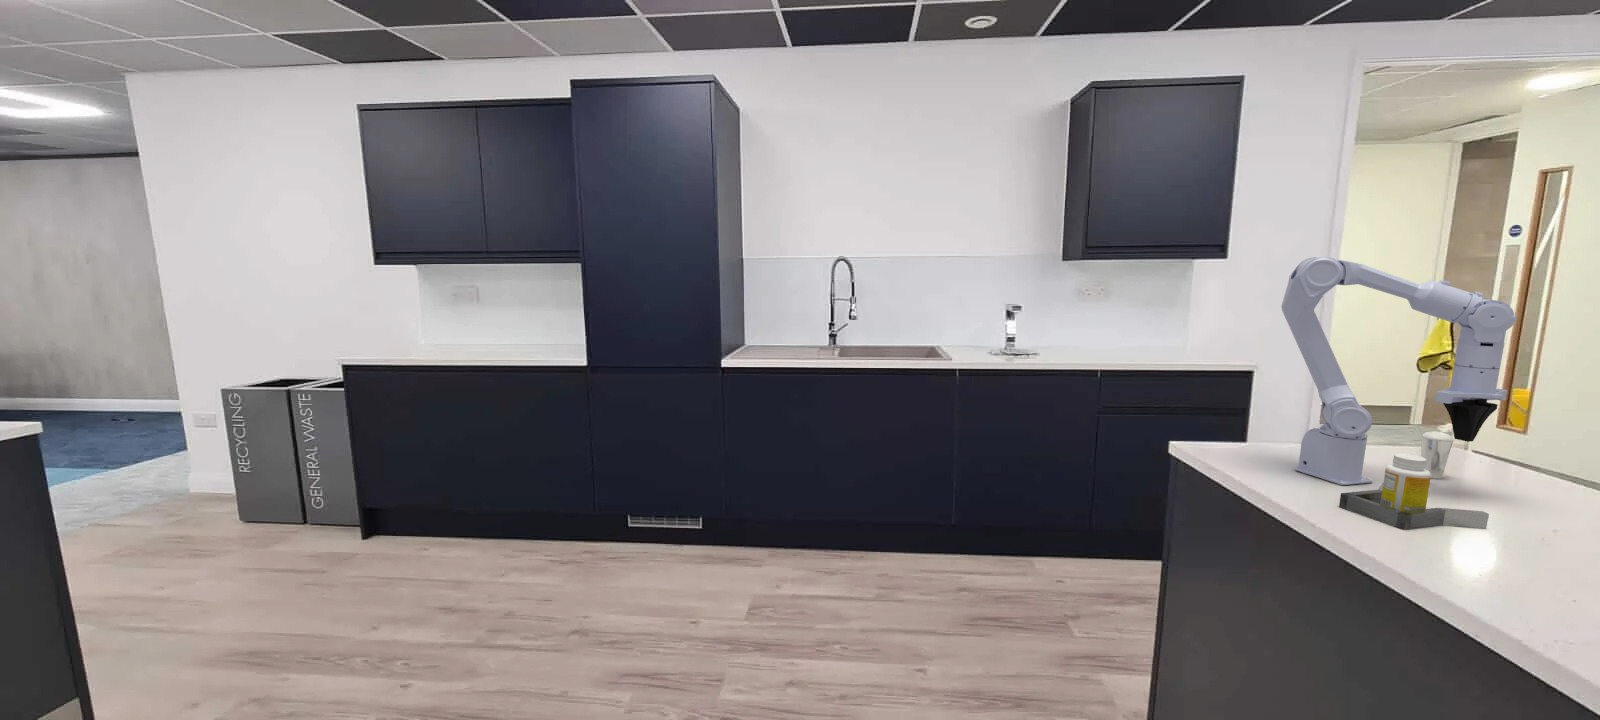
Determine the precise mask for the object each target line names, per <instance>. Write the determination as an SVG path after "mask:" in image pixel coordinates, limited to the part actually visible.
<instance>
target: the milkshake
mask: <svg viewBox="0 0 1600 720" xmlns="http://www.w3.org/2000/svg"><path fill="white" fill-rule="evenodd" d="M1417 427H1418V430H1419V432H1420V435H1421V447H1420V449H1421V450H1420V457H1423V458H1425V459H1426V460H1427V461H1426V466H1425V467H1426V468H1425V469H1426V470H1428V471H1429V472H1430V473H1431V479H1434V480H1437V479H1438V480H1441V479H1443V476H1444V473H1445V470H1446V467H1447V463H1448V458H1449V455H1450V453H1451V450H1452V447H1453V443H1454V441H1455V440H1454V439H1455V438H1454V437H1452V435H1451V434H1448V433H1445V432H1443V431H1437V430H1432V431H1426V432H1424V433H1422V431H1421V429H1420V426H1419V425H1417Z"/></svg>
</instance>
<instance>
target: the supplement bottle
mask: <svg viewBox="0 0 1600 720" xmlns="http://www.w3.org/2000/svg"><path fill="white" fill-rule="evenodd" d="M1426 461H1427V460H1426V459H1425V458H1423V457H1421V455H1420V456H1419V455H1415V454H1408V453H1394V455H1393V459H1392V463H1390V464H1387V465H1386V466H1385V470H1384V476H1383V481H1382V483H1383V489H1382V496H1381V503H1380V504H1382V505H1385V506H1388V507H1391V508H1394V509H1397V510H1400V511H1412V510H1421V509H1427V503H1428V498H1429V497H1428V496H1429V490H1430V486H1431V485H1430V483H1431V479H1432V478H1431V473H1430V472H1429V471H1428V470H1426V469H1425V468H1426V467H1425V466H1426Z"/></svg>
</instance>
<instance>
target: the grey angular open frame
mask: <svg viewBox="0 0 1600 720" xmlns="http://www.w3.org/2000/svg"><path fill="white" fill-rule="evenodd" d="M1382 489H1383V482H1382V483H1381V485H1379V487H1378V488H1377V489H1370V490H1368V489H1367V490H1360V491H1350V492H1349V491H1348V492H1342V493H1340V495H1339V496H1340V497H1339V503H1338V507H1339V508H1341V509H1344V510H1347V511H1350V512H1351V513H1352V512H1353V513H1355V514H1358V515H1361V516H1364V517H1366V518H1368V519H1372V520H1375V521H1378V522H1380V523H1384V524H1386V525H1389V526H1392V527H1395V528H1397V529H1400V530H1404V531H1406V530H1414V529H1422V528H1429V527H1430V528H1432V527H1439V526H1446V527H1447V526H1448V527H1449V526H1451V527H1461V528H1472V529H1483V530H1484V529H1485V530H1487V527H1488V521H1489V515H1490V514H1489V513H1488V512H1485V511H1483V510H1475V509H1474V510H1471V509H1459V508H1446V507H1430V508H1426V509H1421V510H1412V511H1400V510H1397V509H1394V508H1391V507H1388V506H1385V505H1382V504H1380V503H1381V496H1382Z"/></svg>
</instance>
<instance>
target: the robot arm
mask: <svg viewBox="0 0 1600 720" xmlns="http://www.w3.org/2000/svg"><path fill="white" fill-rule="evenodd" d="M1288 277H1289V278H1288V282H1287V286H1286V289H1285V293H1284V296H1283V299H1282V303H1281V311H1282V313H1283V316H1284V318H1285V320H1286V323H1287V325H1288V327H1289V329H1290V331H1291V333H1292V336H1293V338H1294V340H1295V342H1296V345H1297V347H1298V350H1299V352H1300V353H1301V355H1302V359H1303V360H1304V362H1305V364H1306V367H1307V369H1308V371H1309V374H1310V375H1311V378H1312V380H1313V383H1314V385H1315V387H1316V389H1317V392H1318V396H1319V398H1320V401H1321V409H1320V410H1321V411H1320V415H1321V417H1322V419H1323V420H1324V422H1325V423H1323V425H1321V426H1320V427H1319V428H1317V427H1315V428H1311V429H1308V430H1307V431H1306V432H1305V434H1304V435H1303V437H1302V439H1301V443H1300V452H1299V458H1298V459H1299V460H1298V467H1295V468H1294V470H1295V471H1297V472H1301V473H1303V474H1306V475H1310V476H1312V477H1316V478H1319V479H1322V480H1325V481H1329V482H1331V483H1335V484H1338V485H1341V486H1348V485H1358V484H1368V483H1370V484H1371V483H1373V482H1374V480H1373V479H1371V478H1368V477H1364V476H1362V474H1363V470H1364V469H1363V468H1364V463H1365V462H1364V461H1365V455H1366V449H1367V442H1368V434H1367V432H1368V431H1370V429H1371V428H1372V425H1373V417H1372V416H1371V413H1370V412H1369V411H1368V410H1367V409H1366V408H1365V407H1363V406H1362V405H1361V404H1360V403H1359V402H1358V400H1357V398H1356V396H1355V394H1354V393H1353V391H1352V389H1351V388H1350V386H1349V384H1348V382H1347V380H1346V377H1345V376H1344V374H1343V371H1342V369H1341V367H1340V365H1339V362H1338V360H1337V358H1336V355H1335V353H1334V352H1333V349H1332V347H1331V345H1330V343H1329V340H1328V338H1327V336H1326V334H1325V332H1324V329H1323V327H1322V325H1321V323H1320V321H1319V318H1318V317H1317V314H1316V311H1315V308H1316V307H1317V305H1318V304H1319V303H1320V302H1321V299H1322V298H1323V297H1324V295H1325V294H1326V293H1328V292H1329V291H1331V290H1332V289H1333V288H1335V287H1336V286H1338V285H1339V286H1352V285H1353V286H1355V285H1359V286H1364V287H1366V288H1369V289H1373V290H1377V291H1380V292H1383V293H1386V294H1389V295H1393V296H1396V297H1398V298H1402V299H1406V300H1407V301H1408V304H1409V306H1410V307H1411V309H1412V310H1413V311H1416V312H1419V313H1423V314H1426V315H1428V316H1431V317H1434V318H1438V319H1440V320H1444V321H1446V322H1449V323H1452V324H1457V323H1458V325H1459V326H1460V332H1459V338H1458V341H1457V345H1456V350H1455V358H1454V363H1453V369H1452V374H1451V379H1450V386H1449V387H1447V388H1445V389H1443V390H1436V393H1435V399H1434V402H1437V403H1442V404H1443V406H1444V408H1445V409H1446V411H1447V414H1448V415H1449V418H1450V421H1451V426H1452V432H1453V439H1455V440H1458V441H1462V442H1467V443H1468V442H1474V441H1475V439H1476V437H1477V435H1478V434H1479V431H1480V430H1481V428H1482V426H1483V425H1484V423H1485V422H1486V421H1487V419H1488V418H1489V417H1490V416H1491V415H1492V413H1494V412H1495V411H1496V410H1497V409H1498V406H1499V405H1498V404H1497V403H1493V402H1488V401H1506V400H1507V395H1508V389H1502V388H1497V386H1498V381H1499V375H1500V370H1501V364H1502V359H1503V354H1504V348H1505V340H1506V339H1505V338H1506V332H1507V331H1508V330H1509V329H1511V328H1512V326H1514V325H1515V323H1516V321H1517V317H1516V316H1515V313H1514V312H1515V311H1514V310H1513V308H1512V307H1510V305H1509V304H1508V303H1506V302H1504V301H1502V300H1501V301H1500V300H1498V299H1497V300H1495V299H1488V297H1487V298H1486V297H1484V293H1482V292H1479V291H1474V293H1473V292H1469V291H1466V290H1463V289H1461V288H1458V287H1454V286H1452V285H1451V284H1452V282H1450V281H1447V280H1445V279H1444V280H1443V279H1441V280H1439V281H1435V280H1428V281H1426V282H1421V283H1416V282H1414V281H1410V280H1409V279H1408V280H1407V279H1404V278H1402V277H1399V276H1397V275H1393V274H1391V273H1388V272H1386V271H1383V270H1379V269H1377V268H1373V267H1372V266H1368V265H1365V264H1362V263H1359V262H1353V261H1349V260H1342V259H1338V260H1337V259H1336V258H1334V257H1331V256H1313V257H1308V258H1306V259H1303V260H1302V261H1301V262H1299V263H1298V264H1297V266H1296V267H1295V269H1293V271H1292V272H1291V273H1290V275H1289V276H1288Z"/></svg>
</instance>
